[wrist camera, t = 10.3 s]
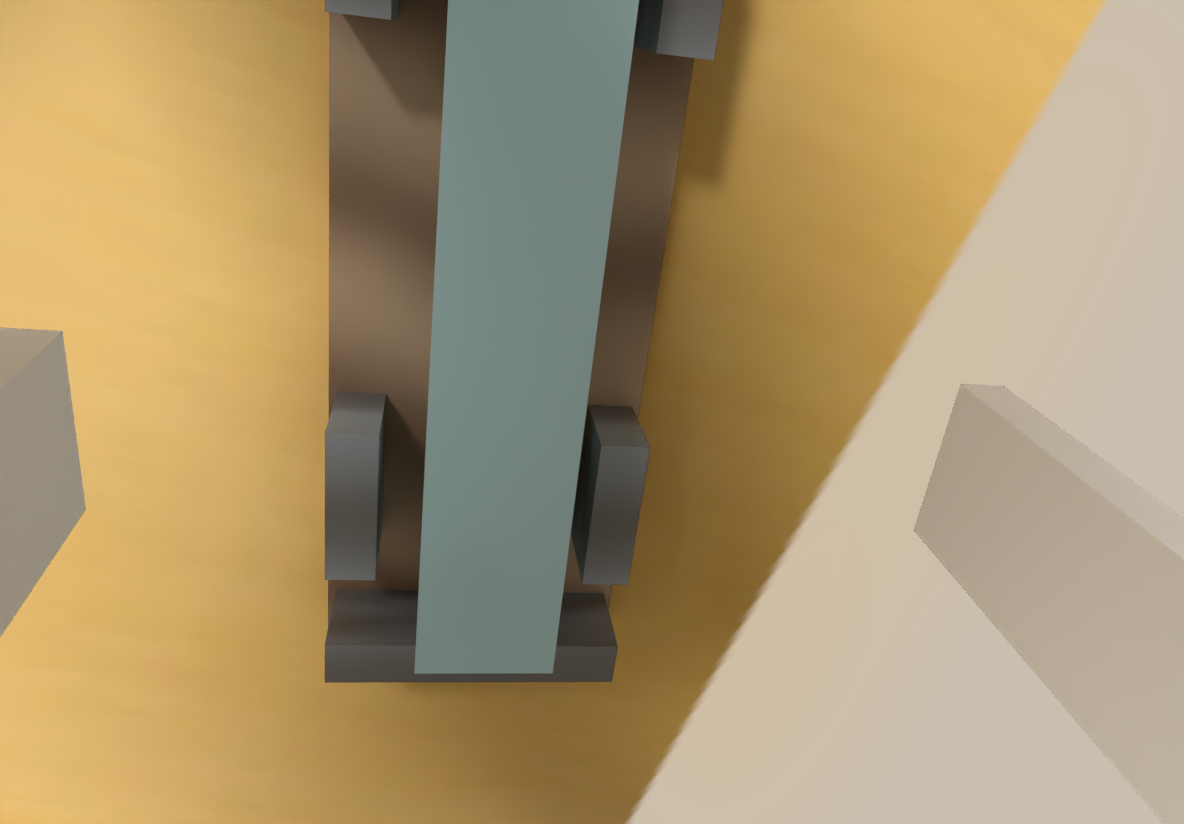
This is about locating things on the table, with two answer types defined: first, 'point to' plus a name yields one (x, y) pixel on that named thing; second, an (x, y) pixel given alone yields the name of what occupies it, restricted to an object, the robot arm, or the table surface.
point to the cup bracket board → (404, 325)
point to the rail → (515, 318)
